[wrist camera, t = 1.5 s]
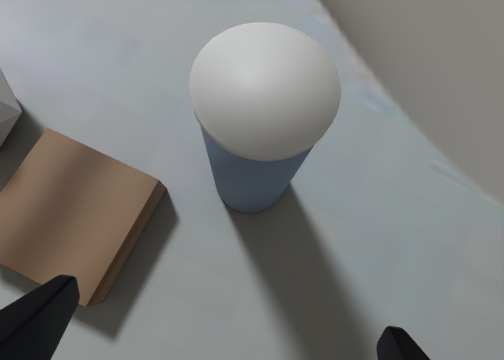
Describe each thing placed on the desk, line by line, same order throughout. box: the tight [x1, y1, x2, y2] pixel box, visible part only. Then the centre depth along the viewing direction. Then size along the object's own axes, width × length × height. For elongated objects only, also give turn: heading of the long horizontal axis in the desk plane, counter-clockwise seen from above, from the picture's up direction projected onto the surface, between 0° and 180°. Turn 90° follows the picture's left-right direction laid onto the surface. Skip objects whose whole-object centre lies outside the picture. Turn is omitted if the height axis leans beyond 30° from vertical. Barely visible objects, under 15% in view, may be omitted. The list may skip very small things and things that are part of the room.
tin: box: [189, 22, 341, 213], centre depth 17 cm, size 6×6×13 cm
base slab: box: [0, 128, 167, 307], centre depth 21 cm, size 9×9×2 cm
